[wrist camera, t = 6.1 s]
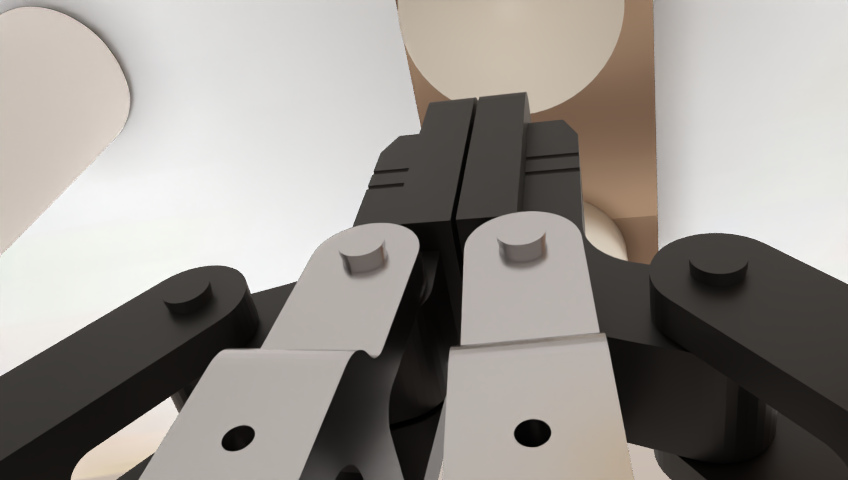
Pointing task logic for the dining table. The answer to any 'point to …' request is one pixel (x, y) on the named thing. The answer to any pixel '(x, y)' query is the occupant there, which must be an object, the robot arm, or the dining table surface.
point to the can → (51, 110)
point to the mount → (609, 131)
